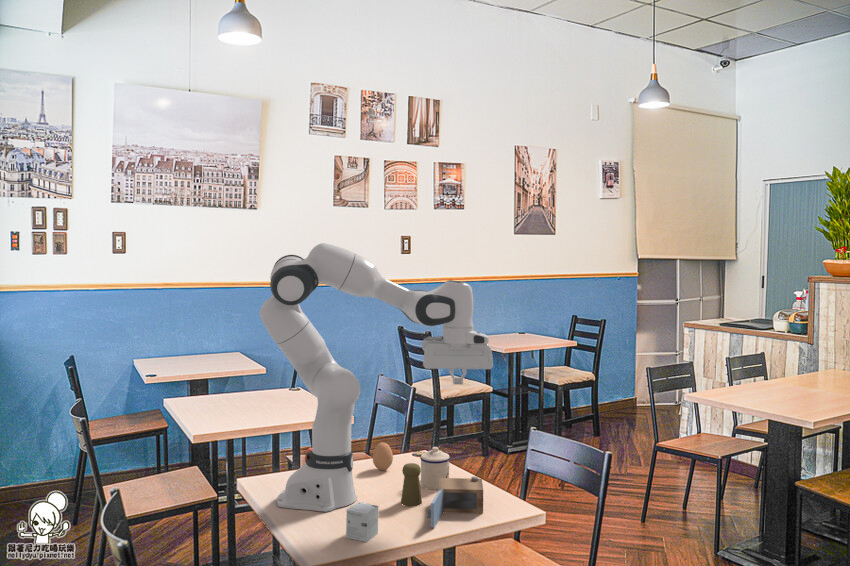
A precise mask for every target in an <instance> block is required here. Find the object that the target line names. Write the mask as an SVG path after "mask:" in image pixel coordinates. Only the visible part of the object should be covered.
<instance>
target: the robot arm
mask: <svg viewBox="0 0 850 566" xmlns="http://www.w3.org/2000/svg"><path fill="white" fill-rule="evenodd" d="M269 278H270V281H269V282H270V283H269V284H270V285H269V287H270V291H271V292H270V293H271V294H272V295H271V296H270V297H269V298H267V299H266V300H265V301H264V302H263V304H262V305H261V307H260V309H259V317H260V319H261V321H262V324H263V326H265V329H266V330H267V332H268V334H269V335H270V337H271V339H272V340H273V341H274V343H275V344H276V345H277V347H278V348H279V349H280V351H281V352H282V353H283V355H284V356H285V357H286V358H287V360H288V362H289V363H290V364H291V366H292V367H293V368H294V370H295V371H296V373H297V375H298V376H299V378H300V379H301V381H302V382H303V384H304V386H305V387H306V388H307V390H308V391H309V392H310V394H311V395H312V396H313V397H315V398H317V407H316V412H315V418H314V420H313V422H312V425H311V426H312V427H311V429H312V430H311V432H312V433H311V439H312V440H311V444H312V445H311V446H312V447H308V449H307V450H306V452H305V456H304V462H305V464H303V465H302V466H301V467H299V468H298V469H297V470H295V471H294V472H292V474H290V476H289V477H288V479H287V481H286V484H285V488H284V490H282V491H281V492H280V493H279V495H278V496H277V499H276V504H277V506H278V507H279V508H283V509H284V508H286V509H295V510H297V509H298V510H303V511H315V512H316V511H317V512H325V513H328V512H331V511H333V510H336V509H339V508H344V507H347V506H349V505H351V504H353V503H354V502H356V501H357V497H358V496H357V494H356V489H355V485H354V478H353V469H354V454H353V449H352V423H353V417H354V416H353V415H354V411H355V406H356V402H357V401H358V399H359V398H360V395H361V383H360V381H359V380H358V378H357V376H355V374H354V373H353V372H352V371H350V369H347V368H345V367H343V366H341V365H340V364H338V362H337V361H336V360H335V358H334V357H333V356H332V354H331V352H330V350H329V348H328V347H327V345H326V341H325V339H324V337H322V335H321V334H320V332H318V330H317V329H316V327H315V326H314V324H313V323H312V322H311V320H310V319H309V318H308V316H307V315H306V314H305V312H304V311H303V310H302V307H301V305H300V304H301V303H303V302H304V301H306V300H307V298H308V297H309V296H310V295H311V294H312V293H313V292H314V291H315V290H316V289H317V288H318V286H319V285H320V284H323V285H325V286H328V287H331V288H333V289H335V290H338V291H340V292H343V293H345V294H348V295H351V296H354V297H360V298H373V299H378V300H380V301H382V302H384V303H386V304H388V305H390V306H392V307H395V308H397V309H398V310H400V311H401V312H402V313H403V314H404V316H405V317H406V318H407V319H408V320H409V321H410V322H412V323H414V324H419V325H422V326H425V327H436V326H440V325H442V336H439V335H438V336H429V335H428V336H427V337H425V338H424V339H423V340H422V342H421V349H422V351H423V352H424V354H423V358H422V359H423V361H422V366H423V368H425V369H426V370H430V369H431V370H436V369H437V370H443V369H444V370H448V373H449V375H450V377H451V378H452V385H464V379H465V377H466V375H467V373H468V370H492V369H493V367H494V359H493V351H492V348H491V345H490V344H489V341H490V339H489V336H488V335H487V334H485V333H483V332H479V331H476V330H474V322H473V314H474V307H475V306H474V293H473V288H472V286H471V285H470V284H469V283H467V282H464V281H458V280H453V279H451V280H450V279H449V280H446V281H445V282H444V283H442V284H441V285H439V286H438V287H436V288H434V289H432V290H429V291H427V290H423V289H408V288H405V287H404V286H401V285H400V284H397V283H395V282H394V281H393V282H392V281H391V280H390V279H387V278H385V277H384V276H383V275H382V274H381V273H380V272H379V270H378V268H377V267H376V265H374V263H372V262H370V261H369V260H368V259H366V258H364V257H363V256H361V255H359V254H357V253H355V252H353V251H350V250H348V249H345V248H343V247H339V246H337V245H334V244H329V243H326V242H325V243H318V244H316V245H315V246H314V247H313V248H312V249H311V250H309V253H308V255H307V257H306V258H303V257H302V256H299V255H296V254H287V255H284V256H281V257H280V258H278V260H276V262H275V263H274V265H273V268H272V271H271V273H270V277H269ZM455 370H461V373H462V374H461V376H460V377H456V376H455V375H454V373H455Z"/></svg>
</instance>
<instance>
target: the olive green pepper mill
mask: <svg viewBox="0 0 850 566" xmlns="http://www.w3.org/2000/svg"><path fill="white" fill-rule="evenodd" d="M401 471H402V475H403V477H404V478H403V485H402V491H401V492H402V493H401V499H400V503H401V505H402V504H403V506H404V505H405V507H418V505H419V506H420V504H421V505H422V503H423V500H422V492H421V491H422V490H421V481H420V476H421V465H419V464H418V463H414V462H409V463H406V464H404V465H403V467H402V470H401Z"/></svg>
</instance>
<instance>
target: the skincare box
mask: <svg viewBox="0 0 850 566" xmlns="http://www.w3.org/2000/svg"><path fill="white" fill-rule="evenodd" d="M345 530H346V531H345V534H346V536H345V538H346V539H350V540H355V541H359V542H364V543H368V542H369V541H370V540H371V539H373V538H374V537H375V536H377V535H378V534H379V505H377V504H372V503H367V502H361V501H357V502H356V503H354V504H353V505H351V506H350V507H348V508H347V509H346V527H345Z"/></svg>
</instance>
